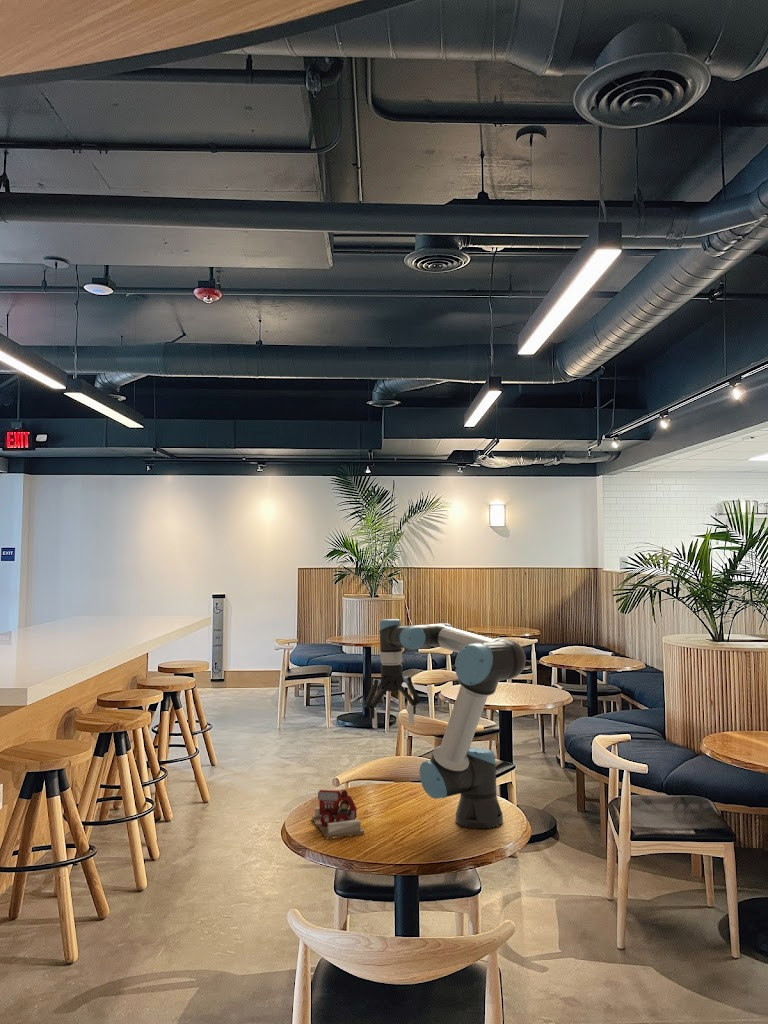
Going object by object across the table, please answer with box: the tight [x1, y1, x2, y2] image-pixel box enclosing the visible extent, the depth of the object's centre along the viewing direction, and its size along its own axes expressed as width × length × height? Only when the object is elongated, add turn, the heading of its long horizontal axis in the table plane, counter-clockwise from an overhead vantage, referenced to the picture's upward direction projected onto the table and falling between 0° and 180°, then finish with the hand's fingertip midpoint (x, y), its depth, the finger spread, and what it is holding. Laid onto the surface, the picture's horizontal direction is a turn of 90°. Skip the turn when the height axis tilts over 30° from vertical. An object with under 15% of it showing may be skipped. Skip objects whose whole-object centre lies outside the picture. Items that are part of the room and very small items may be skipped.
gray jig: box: [311, 803, 365, 839], centre depth 245 cm, size 20×12×4 cm, turn 19°
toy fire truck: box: [317, 789, 357, 826], centre depth 246 cm, size 7×12×10 cm, turn 80°
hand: (393, 726), depth 265 cm, fingers open, 13 cm apart
